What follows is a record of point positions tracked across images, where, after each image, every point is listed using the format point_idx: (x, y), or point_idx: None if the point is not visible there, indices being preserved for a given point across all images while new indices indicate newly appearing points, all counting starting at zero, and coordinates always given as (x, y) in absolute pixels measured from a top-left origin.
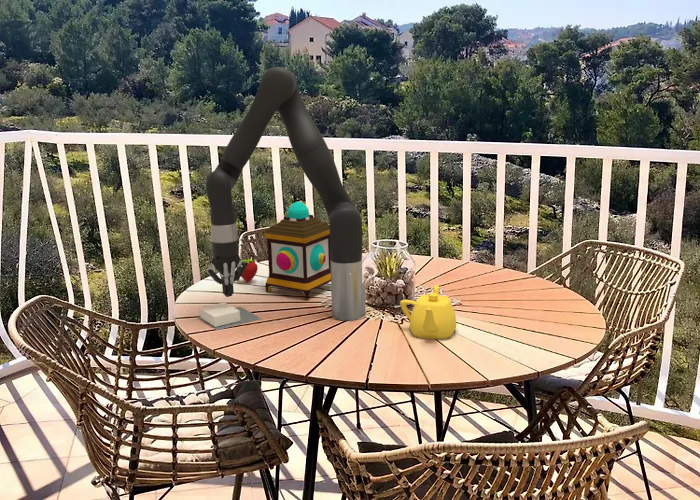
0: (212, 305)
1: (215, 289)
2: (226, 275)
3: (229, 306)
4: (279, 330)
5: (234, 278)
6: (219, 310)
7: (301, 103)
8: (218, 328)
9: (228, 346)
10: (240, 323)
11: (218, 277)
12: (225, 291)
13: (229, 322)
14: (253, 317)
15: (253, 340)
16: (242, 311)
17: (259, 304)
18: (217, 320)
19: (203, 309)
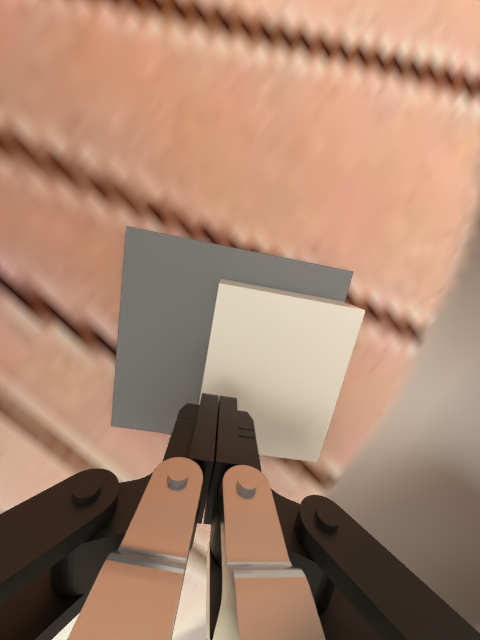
0: (258, 449)
1: (73, 620)
2: (275, 611)
3: (212, 381)
4: (152, 20)
5: (114, 521)
6: (284, 370)
7: None
8: (336, 283)
9: (448, 72)
10: (237, 257)
11: (400, 618)
12: (248, 431)
13: (275, 289)
14: (147, 274)
15: (331, 25)
16: (138, 372)
17: (25, 397)
18: (340, 303)
19: (320, 435)
